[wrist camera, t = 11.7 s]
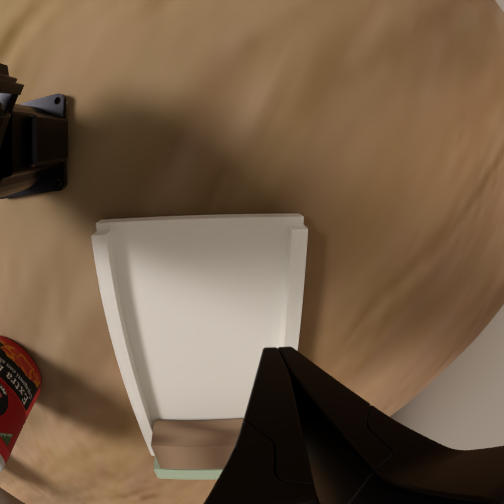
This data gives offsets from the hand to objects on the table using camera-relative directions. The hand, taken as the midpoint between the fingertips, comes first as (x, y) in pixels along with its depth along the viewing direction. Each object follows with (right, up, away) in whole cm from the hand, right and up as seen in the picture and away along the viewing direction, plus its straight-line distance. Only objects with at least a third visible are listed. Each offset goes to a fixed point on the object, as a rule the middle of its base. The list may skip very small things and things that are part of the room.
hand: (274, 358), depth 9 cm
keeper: (-4, -13, +15) cm, 21 cm away
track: (-4, -6, +14) cm, 16 cm away
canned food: (-24, -8, +13) cm, 28 cm away
